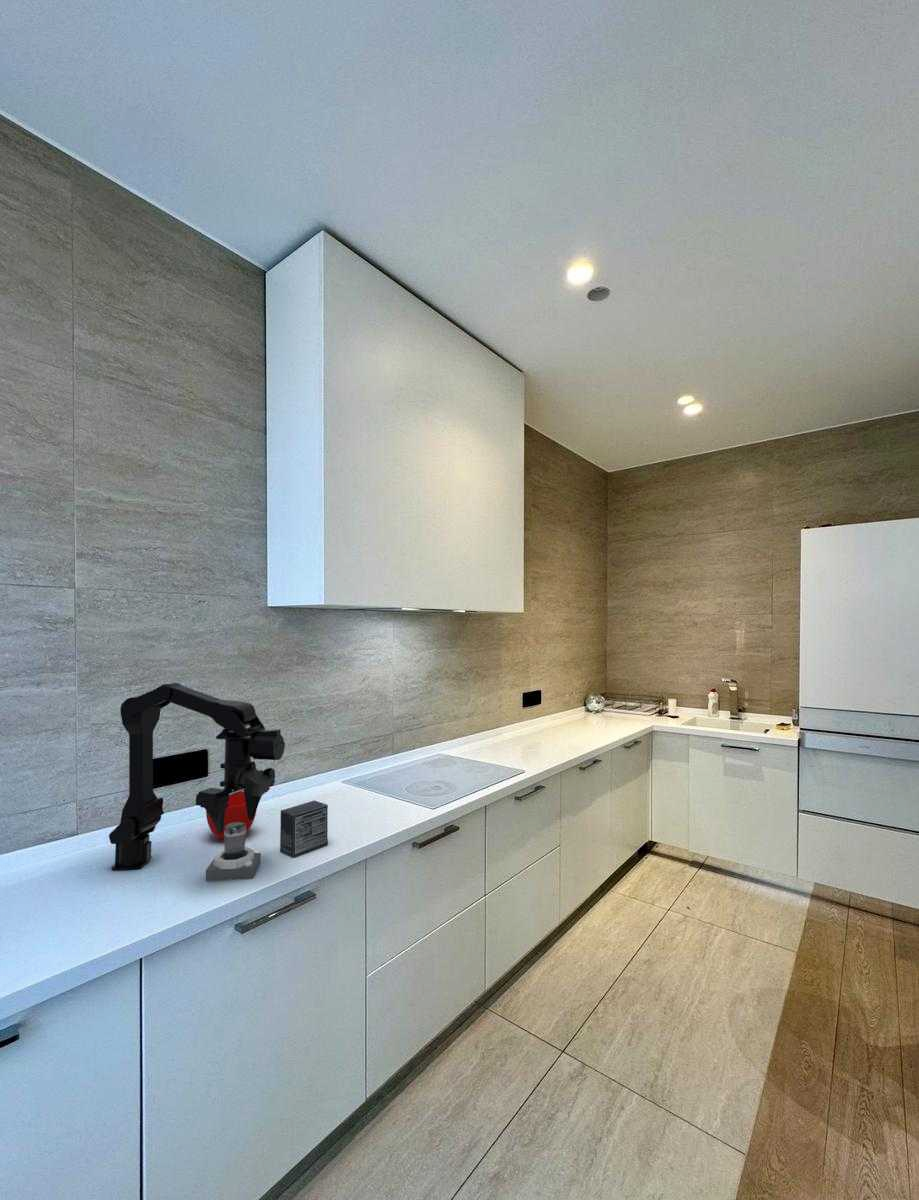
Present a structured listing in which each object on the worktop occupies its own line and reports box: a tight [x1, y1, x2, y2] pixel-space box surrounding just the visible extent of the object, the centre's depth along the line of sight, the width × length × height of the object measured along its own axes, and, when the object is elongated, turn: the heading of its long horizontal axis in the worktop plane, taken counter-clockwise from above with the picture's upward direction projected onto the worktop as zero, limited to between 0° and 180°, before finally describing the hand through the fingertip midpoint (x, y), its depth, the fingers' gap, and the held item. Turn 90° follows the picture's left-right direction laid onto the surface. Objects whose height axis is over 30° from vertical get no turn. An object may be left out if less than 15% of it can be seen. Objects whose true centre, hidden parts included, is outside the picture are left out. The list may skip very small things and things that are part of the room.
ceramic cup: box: [205, 791, 257, 842], centre depth 148 cm, size 13×17×10 cm
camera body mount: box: [205, 846, 262, 882], centre depth 125 cm, size 10×8×4 cm
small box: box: [279, 800, 329, 859], centre depth 139 cm, size 11×6×10 cm, turn 141°
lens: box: [223, 822, 247, 860], centre depth 125 cm, size 5×5×8 cm
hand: (236, 826), depth 125 cm, fingers open, 9 cm apart
